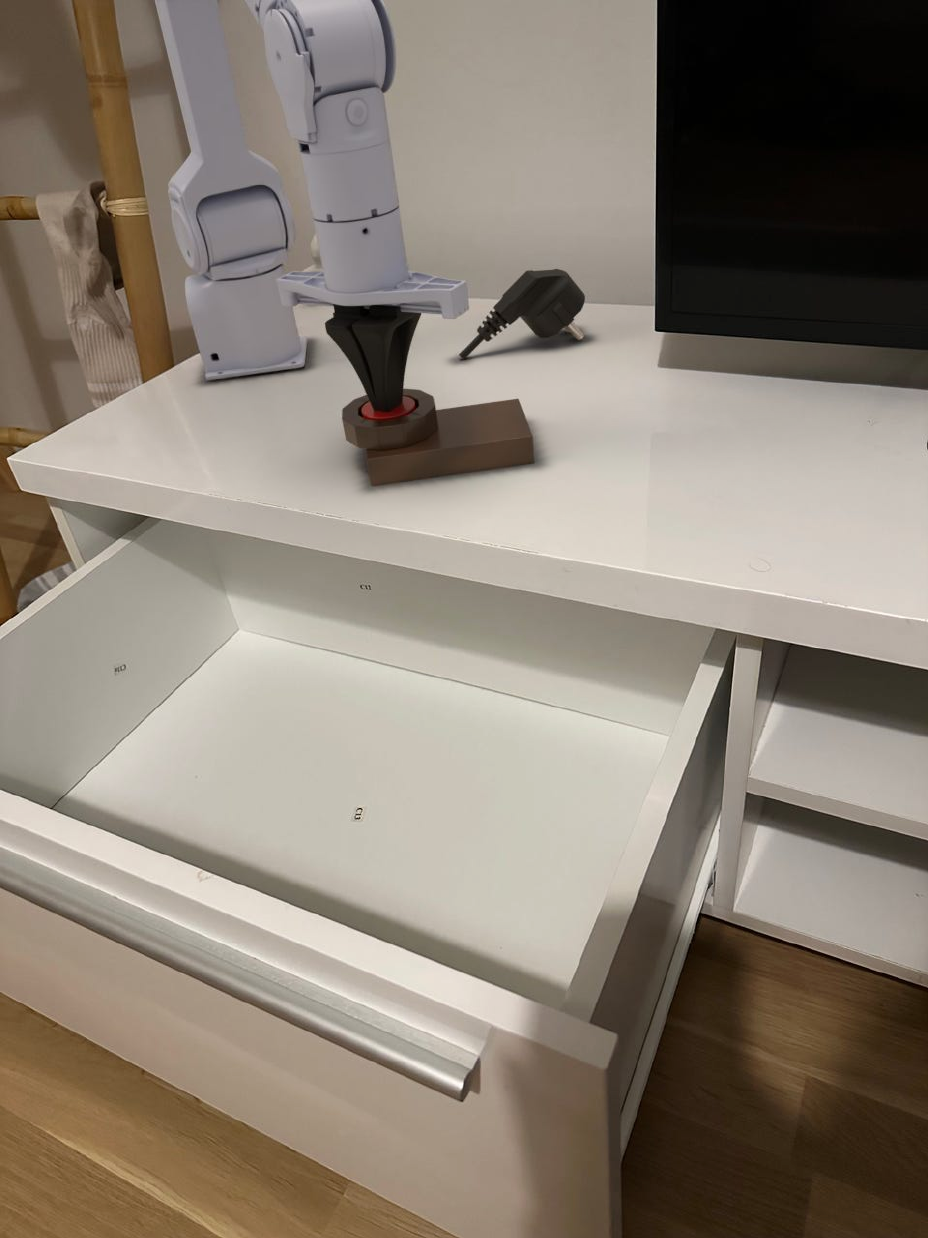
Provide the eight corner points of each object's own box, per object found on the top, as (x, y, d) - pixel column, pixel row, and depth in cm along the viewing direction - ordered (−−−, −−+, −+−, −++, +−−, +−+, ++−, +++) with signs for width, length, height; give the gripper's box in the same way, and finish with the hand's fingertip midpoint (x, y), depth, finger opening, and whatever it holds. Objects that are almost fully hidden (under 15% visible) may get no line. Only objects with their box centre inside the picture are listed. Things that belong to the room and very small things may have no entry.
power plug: (447, 341, 87) (540, 246, 84) (496, 393, 91) (586, 304, 89) (464, 361, 82) (562, 260, 80) (515, 414, 87) (610, 320, 84)
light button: (365, 442, 68) (361, 420, 67) (365, 420, 71) (361, 399, 70) (419, 435, 68) (416, 412, 67) (416, 413, 71) (413, 391, 70)
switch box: (351, 489, 67) (341, 439, 65) (351, 442, 73) (342, 395, 71) (534, 463, 67) (531, 412, 65) (518, 419, 74) (515, 371, 71)
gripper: (482, 196, 60) (499, 395, 68) (305, 195, 66) (340, 376, 74) (426, 226, 55) (452, 435, 63) (241, 221, 61) (286, 412, 69)
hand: (388, 406), depth 68 cm, fingers closed, pressing on light button
